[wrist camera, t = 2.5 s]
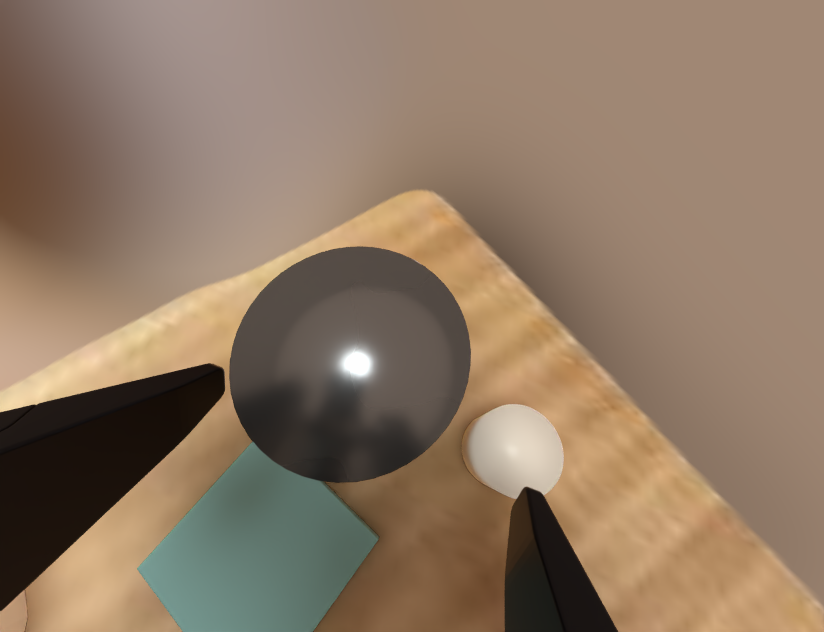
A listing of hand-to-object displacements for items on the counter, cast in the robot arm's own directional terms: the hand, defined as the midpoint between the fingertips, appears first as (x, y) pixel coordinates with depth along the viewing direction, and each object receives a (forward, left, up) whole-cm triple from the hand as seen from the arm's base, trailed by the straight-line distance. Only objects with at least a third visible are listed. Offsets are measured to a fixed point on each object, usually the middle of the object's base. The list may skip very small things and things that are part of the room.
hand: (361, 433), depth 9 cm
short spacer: (+3, -5, -9) cm, 10 cm away
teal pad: (-8, +1, -9) cm, 12 cm away
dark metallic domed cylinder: (+1, 0, -9) cm, 9 cm away
